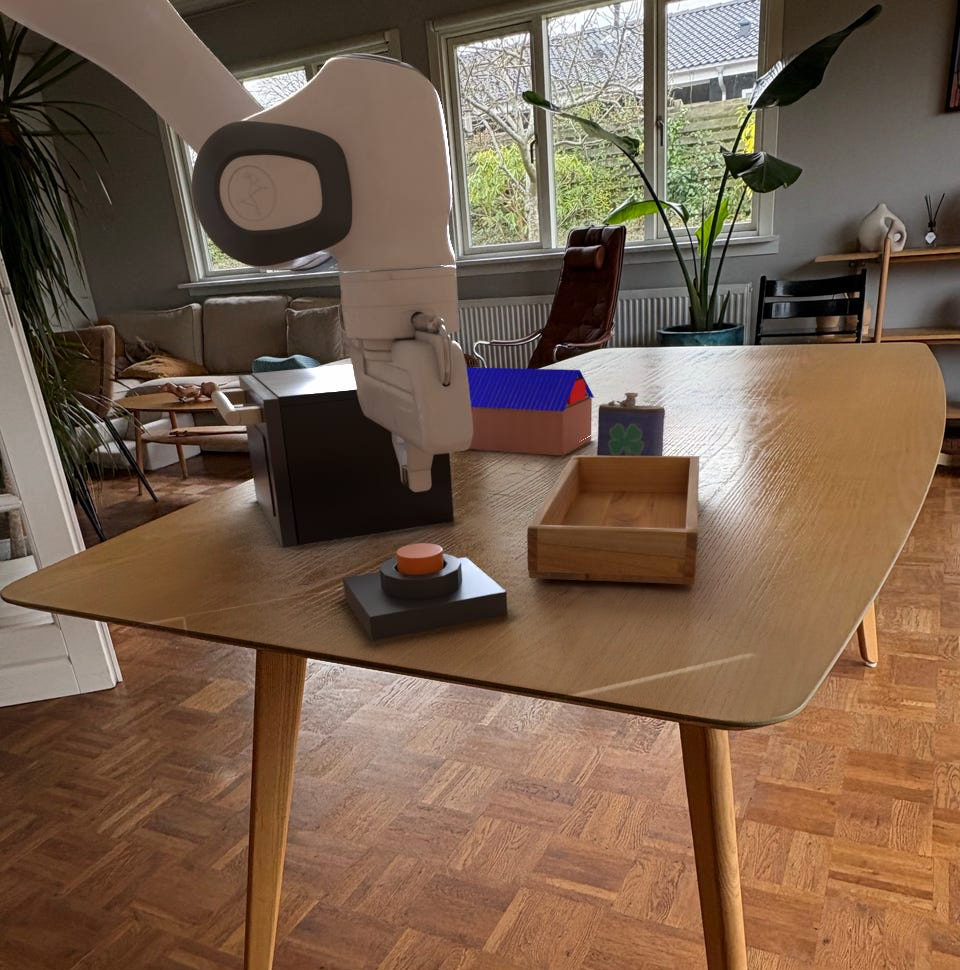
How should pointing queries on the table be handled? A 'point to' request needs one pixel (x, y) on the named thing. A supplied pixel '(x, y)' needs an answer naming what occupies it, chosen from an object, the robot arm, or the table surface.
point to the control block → (423, 598)
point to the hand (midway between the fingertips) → (416, 487)
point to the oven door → (263, 450)
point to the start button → (419, 559)
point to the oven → (347, 462)
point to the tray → (618, 521)
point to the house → (529, 410)
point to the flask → (630, 429)
